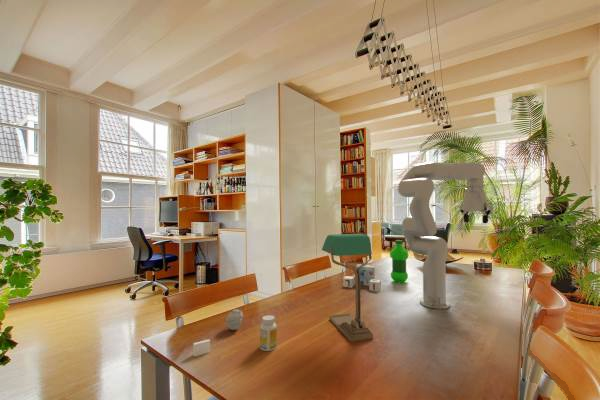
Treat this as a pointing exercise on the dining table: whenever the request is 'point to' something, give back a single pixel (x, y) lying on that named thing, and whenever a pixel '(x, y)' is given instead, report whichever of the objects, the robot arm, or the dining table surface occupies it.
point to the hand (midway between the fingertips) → (475, 222)
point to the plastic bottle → (399, 262)
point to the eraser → (201, 347)
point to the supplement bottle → (268, 333)
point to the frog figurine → (234, 319)
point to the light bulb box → (366, 273)
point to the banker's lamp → (355, 246)
